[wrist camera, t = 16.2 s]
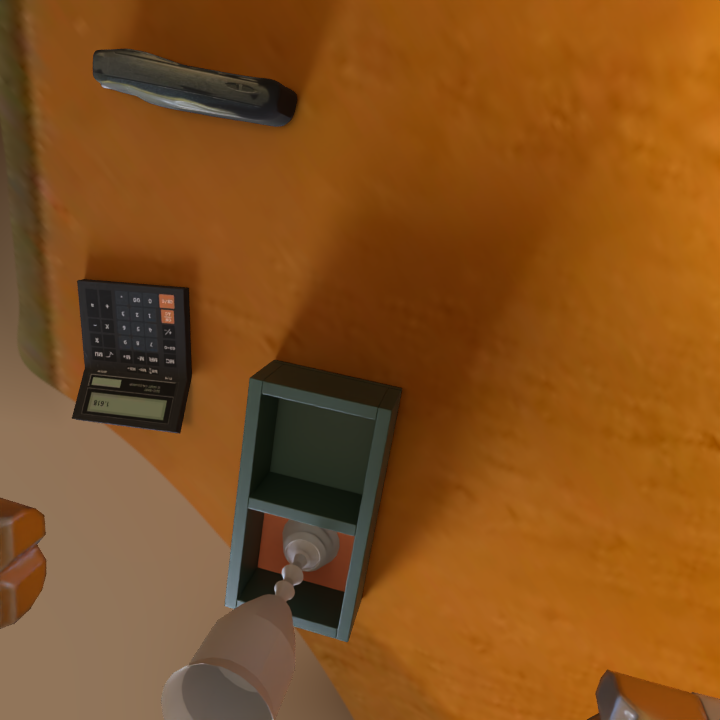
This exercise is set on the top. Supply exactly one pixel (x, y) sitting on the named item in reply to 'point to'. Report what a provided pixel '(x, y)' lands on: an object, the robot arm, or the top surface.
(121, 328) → the calculator
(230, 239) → the top surface
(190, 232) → the top surface
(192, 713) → the chalice
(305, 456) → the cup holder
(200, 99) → the stapler
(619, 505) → the top surface
